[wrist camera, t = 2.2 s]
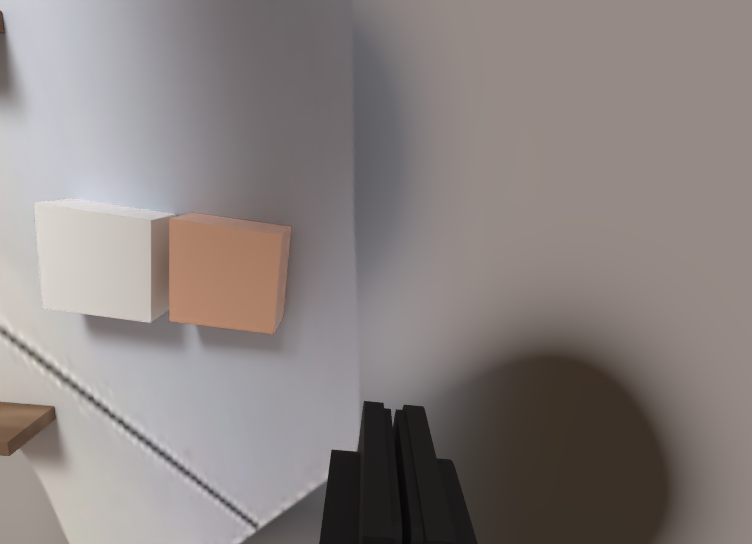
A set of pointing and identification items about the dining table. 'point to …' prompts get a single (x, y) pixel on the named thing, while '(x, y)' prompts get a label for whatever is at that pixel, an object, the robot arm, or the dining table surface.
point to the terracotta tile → (227, 272)
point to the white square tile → (103, 259)
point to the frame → (21, 412)
